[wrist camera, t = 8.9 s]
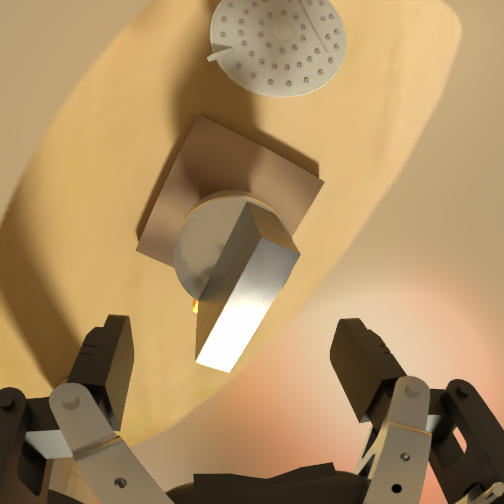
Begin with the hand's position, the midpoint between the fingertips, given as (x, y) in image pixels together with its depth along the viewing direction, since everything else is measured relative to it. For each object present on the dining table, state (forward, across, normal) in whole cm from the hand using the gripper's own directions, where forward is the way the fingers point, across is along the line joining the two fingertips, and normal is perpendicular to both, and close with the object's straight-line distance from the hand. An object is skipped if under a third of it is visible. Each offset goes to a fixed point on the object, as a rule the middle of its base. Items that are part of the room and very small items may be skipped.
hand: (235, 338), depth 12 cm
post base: (+18, -1, 0) cm, 18 cm away
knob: (+10, 0, +1) cm, 10 cm away
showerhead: (+18, -3, -14) cm, 23 cm away
